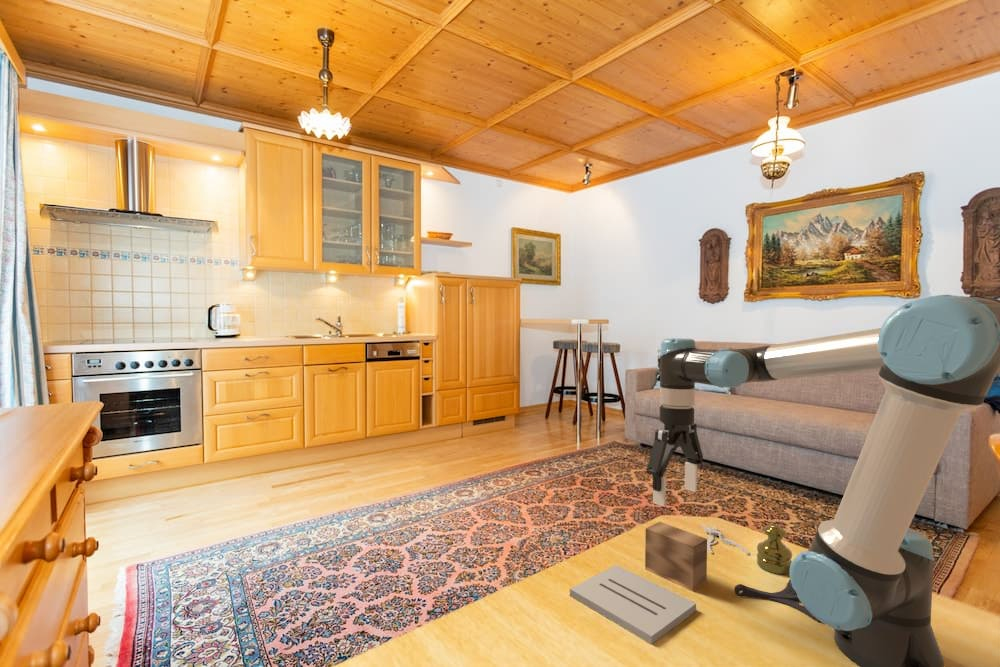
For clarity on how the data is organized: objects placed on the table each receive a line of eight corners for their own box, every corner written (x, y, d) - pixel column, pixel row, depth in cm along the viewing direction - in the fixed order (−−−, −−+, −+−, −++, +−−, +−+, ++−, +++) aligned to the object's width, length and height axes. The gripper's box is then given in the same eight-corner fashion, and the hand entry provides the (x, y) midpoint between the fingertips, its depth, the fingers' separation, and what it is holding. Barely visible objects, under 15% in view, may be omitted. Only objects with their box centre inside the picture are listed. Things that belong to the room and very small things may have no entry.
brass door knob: (753, 567, 116) (753, 526, 115) (760, 556, 121) (761, 516, 121) (788, 578, 111) (789, 535, 110) (794, 566, 116) (795, 525, 116)
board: (696, 610, 99) (696, 603, 99) (651, 644, 88) (651, 635, 88) (615, 570, 114) (615, 564, 114) (569, 595, 104) (569, 588, 104)
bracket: (725, 579, 112) (725, 567, 112) (796, 586, 109) (796, 574, 109) (745, 618, 97) (745, 604, 97) (826, 626, 95) (827, 612, 95)
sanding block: (706, 582, 109) (707, 538, 109) (692, 591, 105) (693, 546, 105) (659, 561, 119) (659, 521, 118) (645, 569, 115) (645, 528, 114)
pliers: (710, 549, 122) (690, 523, 137) (710, 555, 122) (690, 529, 137) (750, 550, 122) (725, 524, 137) (750, 556, 122) (725, 530, 137)
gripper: (689, 397, 122) (688, 481, 122) (630, 409, 106) (629, 505, 106) (718, 401, 116) (717, 489, 116) (661, 415, 100) (660, 516, 101)
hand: (675, 497), depth 111 cm, fingers open, 13 cm apart
